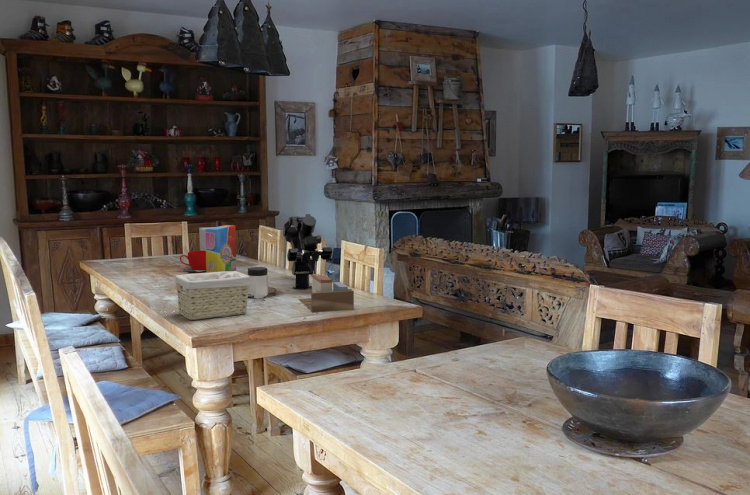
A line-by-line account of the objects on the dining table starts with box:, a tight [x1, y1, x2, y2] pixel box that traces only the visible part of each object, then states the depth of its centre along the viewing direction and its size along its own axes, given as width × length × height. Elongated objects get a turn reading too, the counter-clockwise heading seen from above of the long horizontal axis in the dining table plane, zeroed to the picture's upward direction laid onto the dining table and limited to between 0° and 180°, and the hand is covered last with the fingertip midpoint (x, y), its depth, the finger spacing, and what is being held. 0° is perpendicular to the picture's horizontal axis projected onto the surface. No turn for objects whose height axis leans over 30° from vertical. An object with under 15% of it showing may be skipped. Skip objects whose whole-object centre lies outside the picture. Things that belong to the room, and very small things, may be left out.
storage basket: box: [174, 270, 250, 321], centre depth 245 cm, size 24×16×15 cm
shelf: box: [297, 289, 355, 313], centre depth 259 cm, size 25×16×8 cm, turn 19°
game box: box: [205, 224, 237, 273], centre depth 299 cm, size 21×6×27 cm, turn 168°
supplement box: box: [198, 226, 215, 251], centre depth 390 cm, size 13×13×18 cm
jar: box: [247, 266, 269, 300], centre depth 277 cm, size 9×8×12 cm
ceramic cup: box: [179, 250, 206, 271], centre depth 340 cm, size 13×17×10 cm
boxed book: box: [311, 273, 333, 293], centre depth 263 cm, size 14×4×10 cm, turn 19°
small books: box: [332, 281, 353, 292], centre depth 256 cm, size 10×5×8 cm, turn 19°
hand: (313, 270), depth 277 cm, fingers closed
